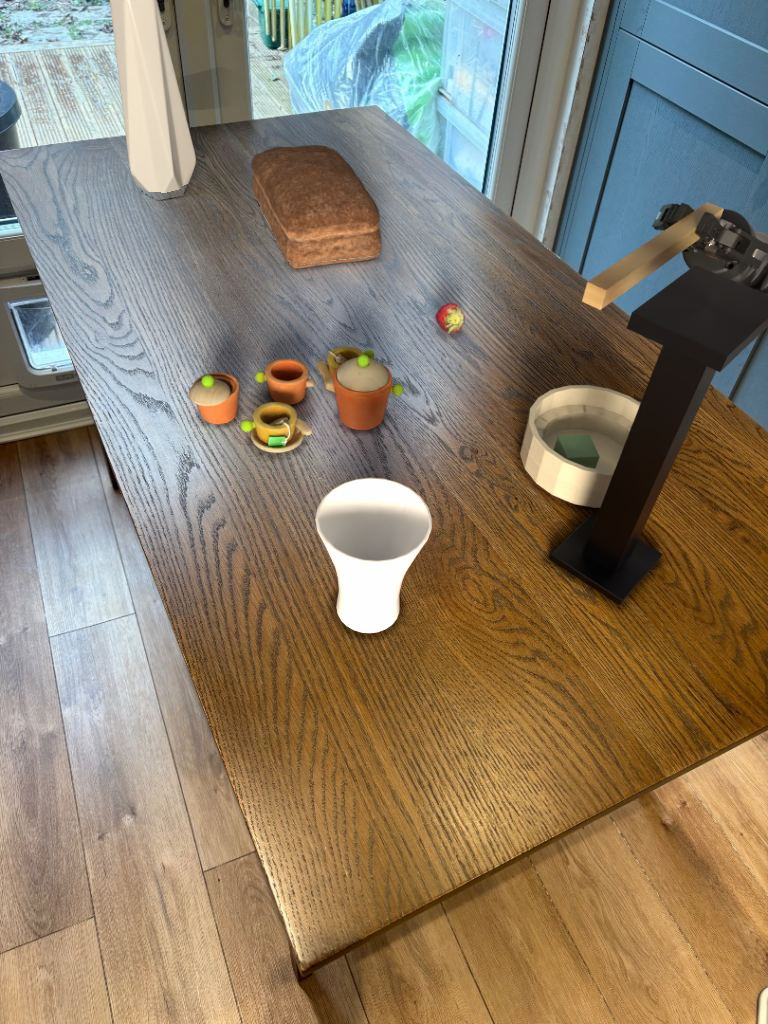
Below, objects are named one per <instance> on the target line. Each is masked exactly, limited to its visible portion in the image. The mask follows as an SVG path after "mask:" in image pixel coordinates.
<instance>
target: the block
mask: <svg viewBox="0 0 768 1024" xmlns="http://www.w3.org/2000/svg"><path fill="white" fill-rule="evenodd" d="M554 451H555V452H556V453H558V454H559V455H561V456H562V457H564V458H565V459H567V460H570V461H572V462H575V463H577V464H580V465H582V466H585V467H588V468H594V469H596V466H597V463H598V460H599V457H600V456H599V454H598V452H597V450H596V447H595V445H594V443H593V441H592V439H591V437H590V435H589V434H585V435H564V436H558V437H557V440H556V443H555V447H554Z"/></svg>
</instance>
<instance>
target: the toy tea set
mask: <svg viewBox="0 0 768 1024" xmlns="http://www.w3.org/2000/svg"><path fill="white" fill-rule="evenodd" d="M326 360H327V363H326V361H325V360H323V359H319V360H317V361H316V362H315V363H316V364H315V366H316V368H317V370H318V372H319V373H320V374H321V376H322V379H323V381H324V388H325V390H327V391H329V392H332V393H334V395H335V400H336V406H337V411H338V416H339V420H340V421H341V423H342V424H343V425H344V426H346V427H347V428H350V429H352V430H356V431H369V430H372V429H375V428H376V427H378V426H379V425H380V424H381V423H382V422H383V420H384V417H385V413H386V409H387V406H388V401H389V399H390V398H389V397H390V394H391V393H392V395H394V396H396V397H399V396H402V395H403V394H404V391H405V389H404V386H403V385H401V384H400V383H395V384H393V375H392V374H393V373H392V372H391V371H390V369H389V368H388V367H387V366H386V365H384V364H383V363H382V362H380V361H378V360H375V352H374V351H373V349H366V350H364V351H363V350H362V349H359V348H358V347H355V346H348V345H347V346H339V347H336V348H333V349H332V350H329V351H328V354H327V357H326ZM309 372H310V371H309V367H308V366H307V365H306V364H305V363H304V362H303V361H301V360H299V359H295V358H279V359H275V360H273V361H272V362H271V361H270V363H268V364H267V366H266V367H265V370H264V371H262V370H261V371H257V372H255V374H254V379H255V381H256V382H257V383H259V384H264V382H266V383H267V386H268V391H269V394H270V397H271V399H272V400H273V401H270V402H266V403H263V404H261V405H259V406H258V407H257V408H255V410H254V412H253V413H252V419H253V420H251V419H247V418H246V419H243V420H242V421H240V430H242V431H243V432H245V433H250V439H251V441H252V444H254V446H256V448H258V449H260V450H262V451H264V452H268V453H276V454H277V453H286V452H290V451H292V450H294V449H296V448H298V447H299V446H300V445H301V444H302V443H303V441H304V439H305V436H310V435H311V436H312V434H313V426H312V425H310V424H309V423H308V422H306V421H304V420H302V419H301V418H299V417H298V413H297V411H296V409H295V408H294V407H293V406H292V405H296V404H298V403H300V402H302V401H303V399H304V398H305V397H306V393H307V388H311V387H312V388H313V387H314V386H315V384H316V383H315V380H314V379H313V378H309ZM188 397H189V400H190V401H191V402H192V403H194V404H196V405H197V408H198V410H199V413H200V416H201V417H202V419H203V420H204V421H205V422H207V423H208V424H213V425H224V424H227V423H229V422H231V421H233V420H234V419H235V418H236V417H237V415H238V408H239V398H240V382H239V380H238V379H237V378H236V377H235V376H234V375H231V374H230V373H226V372H209V373H205V374H203V375H201V376H199V377H197V378H196V379H195V380H194V382H193V384H192V385H191V386H190V388H189V390H188Z"/></svg>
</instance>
